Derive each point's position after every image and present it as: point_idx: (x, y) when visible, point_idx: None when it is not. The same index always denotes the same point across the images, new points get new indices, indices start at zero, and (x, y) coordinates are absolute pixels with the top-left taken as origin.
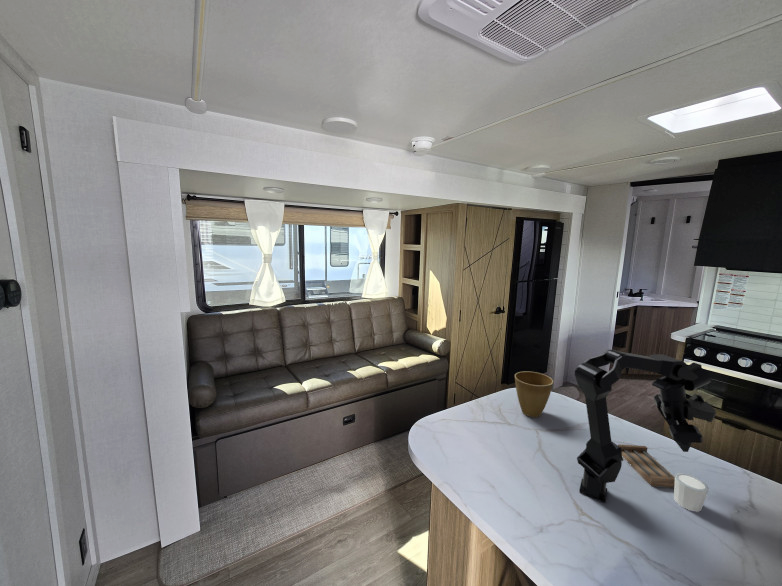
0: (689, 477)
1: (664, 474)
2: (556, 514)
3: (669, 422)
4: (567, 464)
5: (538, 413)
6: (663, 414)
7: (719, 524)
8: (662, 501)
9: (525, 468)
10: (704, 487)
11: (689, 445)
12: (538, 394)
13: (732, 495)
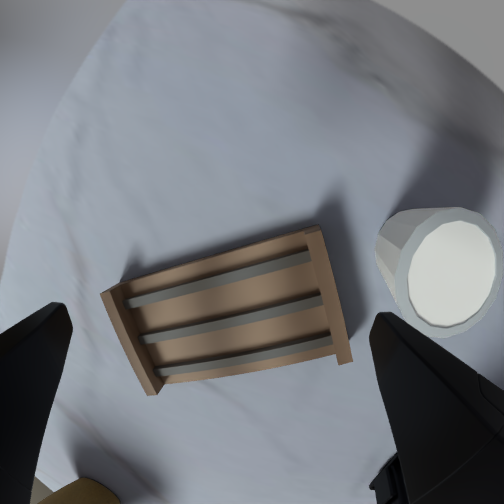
0: (422, 268)
1: (270, 278)
2: None
3: (40, 399)
4: (309, 500)
5: (108, 501)
6: (20, 494)
7: (475, 190)
8: None
9: None
10: (477, 230)
11: (469, 376)
12: None
13: (279, 49)
